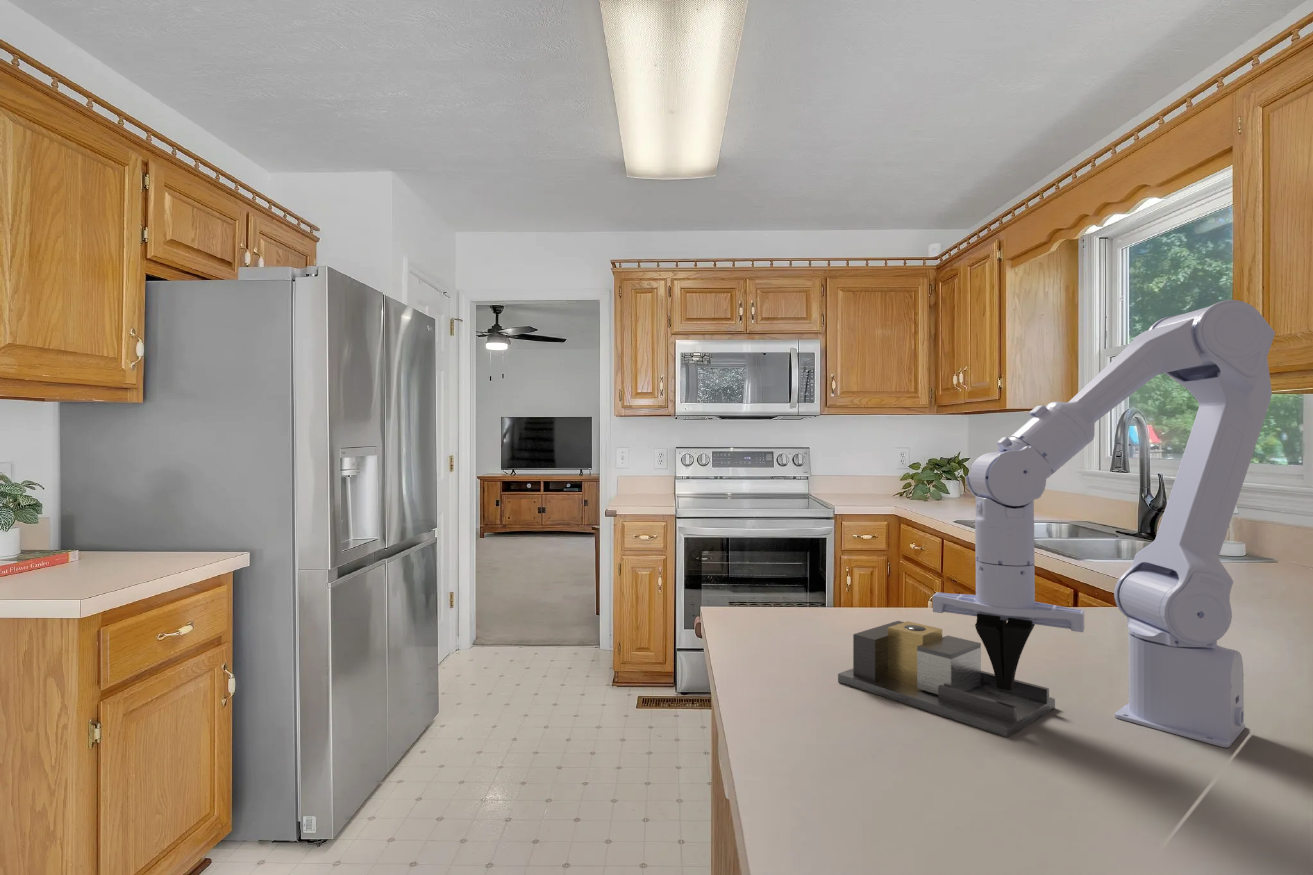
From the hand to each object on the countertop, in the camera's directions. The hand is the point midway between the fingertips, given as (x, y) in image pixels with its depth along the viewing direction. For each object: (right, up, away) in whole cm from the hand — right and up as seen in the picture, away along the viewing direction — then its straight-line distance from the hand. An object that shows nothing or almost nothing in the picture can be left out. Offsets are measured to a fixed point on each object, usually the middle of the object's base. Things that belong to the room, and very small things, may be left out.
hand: (1005, 687), depth 73 cm
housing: (-7, -2, +8) cm, 11 cm away
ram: (-4, -2, +5) cm, 6 cm away
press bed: (-5, -3, +6) cm, 8 cm away
